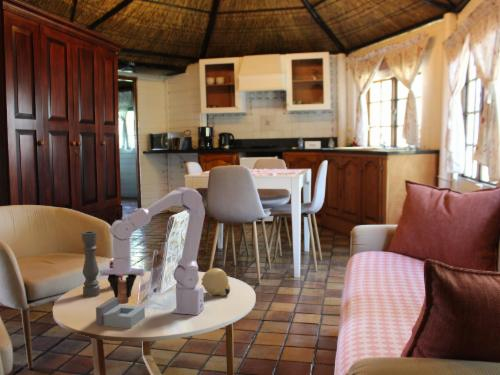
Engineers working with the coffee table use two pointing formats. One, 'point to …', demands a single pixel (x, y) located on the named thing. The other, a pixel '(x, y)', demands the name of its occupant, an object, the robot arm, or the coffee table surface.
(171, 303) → the coffee table surface
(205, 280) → the toy pig
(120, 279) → the soda can
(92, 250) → the candle holder
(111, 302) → the charcoal wall
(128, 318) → the socket block
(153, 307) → the coffee table surface
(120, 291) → the dowel
